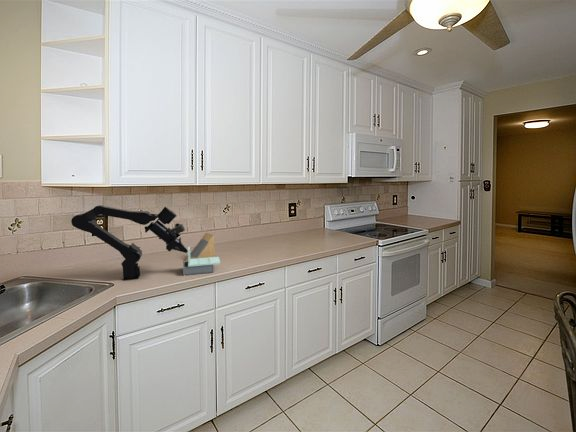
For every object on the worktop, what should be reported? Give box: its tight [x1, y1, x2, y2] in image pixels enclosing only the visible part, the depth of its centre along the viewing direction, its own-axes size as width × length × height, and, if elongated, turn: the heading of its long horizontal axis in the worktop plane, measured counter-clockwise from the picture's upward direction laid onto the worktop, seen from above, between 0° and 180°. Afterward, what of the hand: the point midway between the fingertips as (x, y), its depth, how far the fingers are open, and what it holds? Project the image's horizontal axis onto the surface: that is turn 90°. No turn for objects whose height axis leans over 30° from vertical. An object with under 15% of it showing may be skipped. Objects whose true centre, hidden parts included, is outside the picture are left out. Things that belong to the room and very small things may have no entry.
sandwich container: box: [183, 232, 216, 262], centre depth 163 cm, size 9×15×15 cm, turn 137°
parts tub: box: [182, 261, 214, 276], centre depth 147 cm, size 14×10×4 cm
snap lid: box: [187, 246, 221, 267], centre depth 147 cm, size 15×11×8 cm
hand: (187, 252), depth 144 cm, fingers closed, pressing on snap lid
